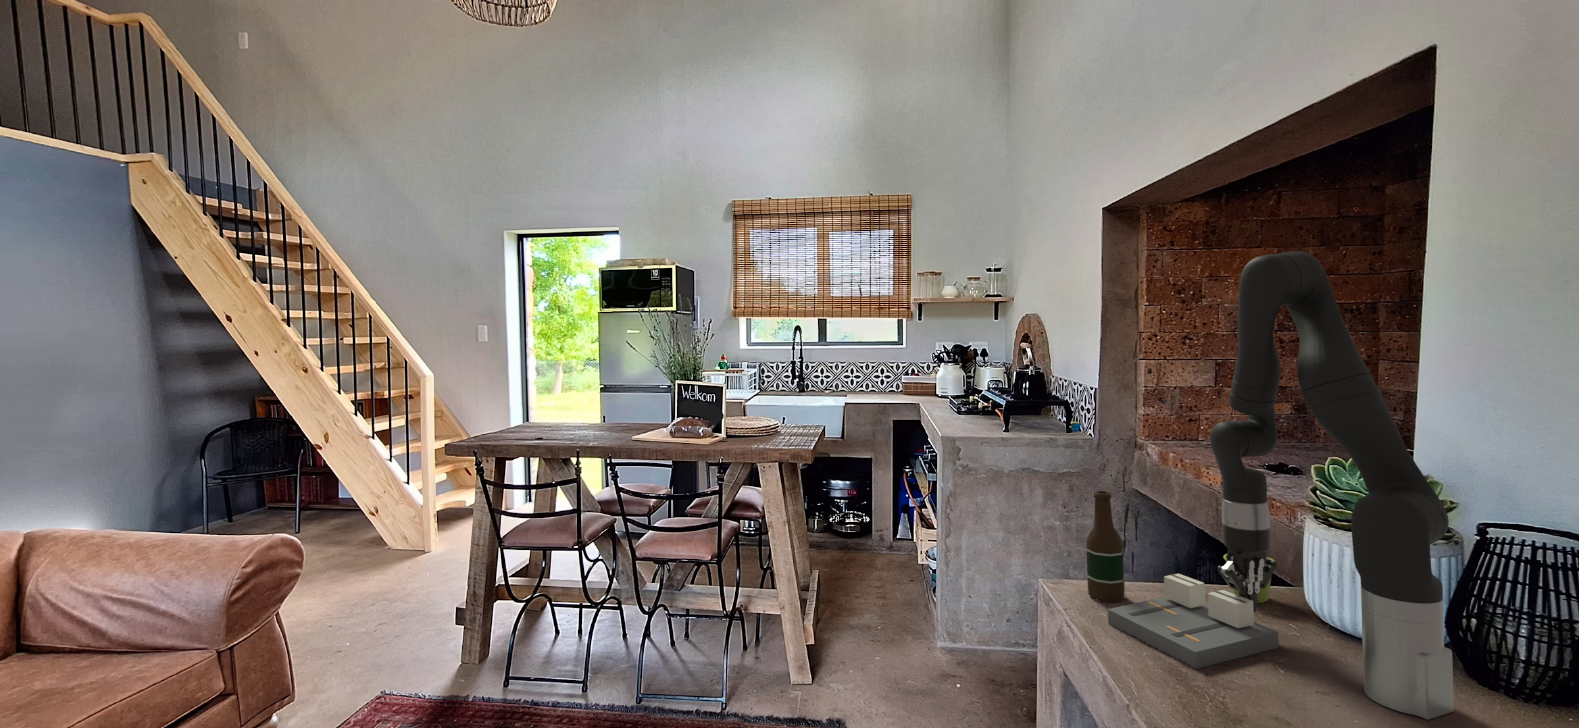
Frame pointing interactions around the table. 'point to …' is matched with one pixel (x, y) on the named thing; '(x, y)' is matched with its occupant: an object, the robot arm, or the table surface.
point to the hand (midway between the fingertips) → (1248, 610)
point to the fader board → (1191, 632)
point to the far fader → (1184, 590)
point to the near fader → (1230, 608)
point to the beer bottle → (1104, 554)
